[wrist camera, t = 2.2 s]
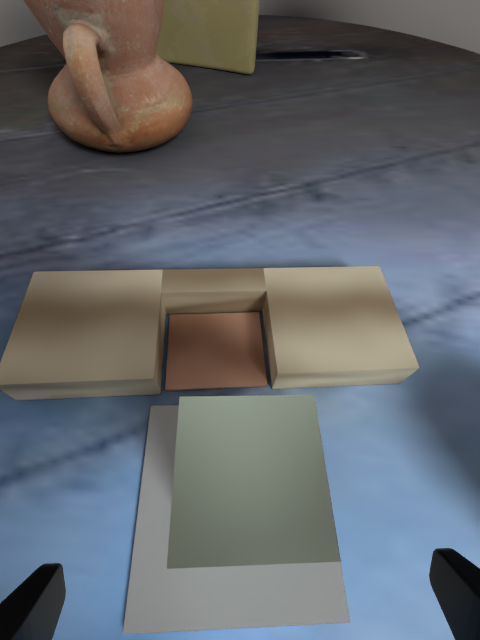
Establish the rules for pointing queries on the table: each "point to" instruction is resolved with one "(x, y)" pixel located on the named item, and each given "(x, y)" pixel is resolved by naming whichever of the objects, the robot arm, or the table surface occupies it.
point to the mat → (213, 568)
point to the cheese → (210, 34)
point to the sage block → (250, 484)
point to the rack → (203, 331)
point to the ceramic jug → (113, 74)
